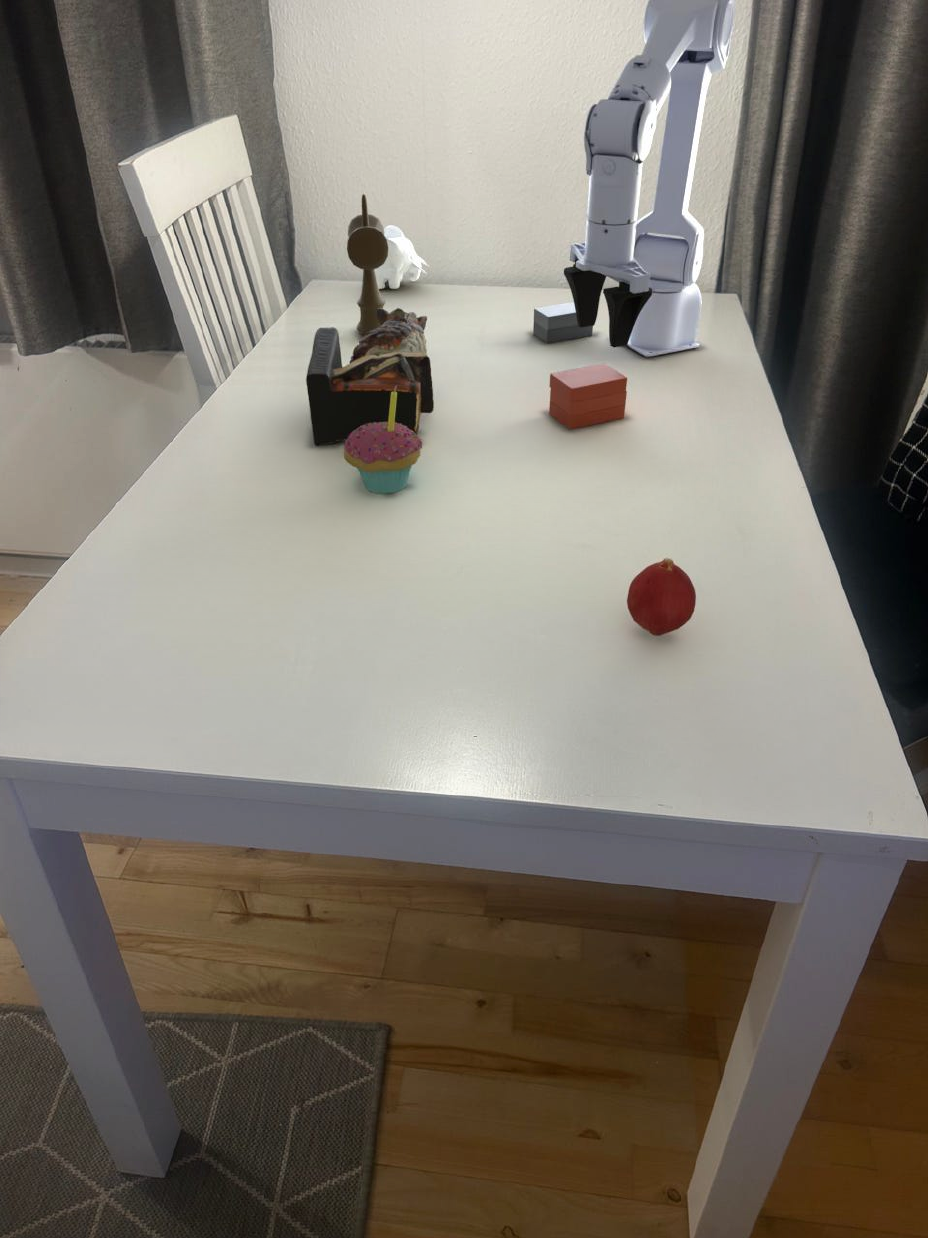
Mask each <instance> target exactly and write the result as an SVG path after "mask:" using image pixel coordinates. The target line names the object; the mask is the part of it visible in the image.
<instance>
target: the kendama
mask: <svg viewBox="0 0 928 1238" xmlns="http://www.w3.org/2000/svg"><path fill="white" fill-rule="evenodd" d="M384 229H385V227H384V225H383V223H382V222H381V220H380V218H378V217H377V216H375V215H373V214H369V209H368V201H367V196H366V194H364V193H362V195H361V214H357V215H355V216H354V217H353V218H351V220H350V222H349V224H348V226H347V237H348V239H347V241H346V251H347V257H348V259H349V260H350V262H351V263H352V265H353V266H355V267H356V268H358V269H360V270H362V282H361V283H362V284H361V293H360V296H359V297H358V299H357V301H356V304H357V306H358V307H359V313H360V315H359V316H360V318H359V322H358V323H357V325H356V330H357V332H358V333H359V334H362V335H364V336H366V333H368V332H370V331H372V330H374V329H376V328H379V327H381V324H380V323H379V321H378V319H377V316H376V311H377V309H379V308H381V309H384V307H385V304H386V301H385V299H384V297H383V296H382V295H381V292H380V289H378V284H377V280H376V275H375V270H374V269H377V268H379V267H380V266H381V265H383V264H384V263H385V261H386V259H387V257H388V248H389V247H388V243H387V239H386V237H385V236H384Z"/></svg>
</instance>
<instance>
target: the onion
mask: <svg viewBox="0 0 928 1238" xmlns="http://www.w3.org/2000/svg"><path fill="white" fill-rule="evenodd" d="M696 602H697V593H696V588H695V586H694V584H693V582H692V580H691V577H690V576H689V575H688V574H687V572H686V571H684V570H683V569H682V568H681V567H680V566H678V565H676V564H675V563H674V560H673V559H672V558H669V557H665V558H663V559H662V560H661V561H658V562H655V563H652V564H650V565H647V566H646V567H645V568H644V569H642V570H641V571H640V572H639V573H637V575H636V576H635V577H634V578H633V579H632V580H631V582H630V585H629V587H628V592H627V597H626V604H627V609H628V612H629V614H630V616H631V618H632V620H633V622H635V624H637V625H638V626H640V628H642V629H643V630H645V631H647V632H649V634H651V635H652V636H654V637H655V636H656V637H659V636H663V635H665V634H667V633H671V632H673V631H676V630H679V629H680V628H681V627H683V626H685V624H687V623H688V622H689V621H690V620H691V619H692V617H693V615H694V612H695V608H696Z"/></svg>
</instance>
